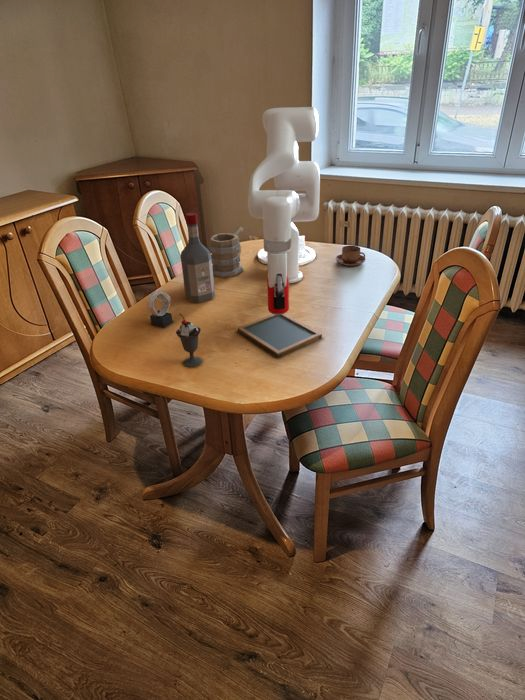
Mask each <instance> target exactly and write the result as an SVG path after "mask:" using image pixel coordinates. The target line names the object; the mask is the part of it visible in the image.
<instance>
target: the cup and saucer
mask: <svg viewBox="0 0 525 700" xmlns="http://www.w3.org/2000/svg"><path fill="white" fill-rule="evenodd" d="M335 261H336V262H337V263H338V264H340V265H342V266H346V267H347V266H348V267H356V266H359V265H362V264H364V263H365V261H366V254H365V252H362V251H361V247H360V246H357V245H344V246H342V248H341V254H339V255H337V256H335Z"/></svg>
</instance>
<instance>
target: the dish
mask: <svg viewBox="0 0 525 700" xmlns="http://www.w3.org/2000/svg"><path fill="white" fill-rule="evenodd" d="M316 254H317V253H316V251H315V249H313V248H311V247H309V246H307V245H306V235H299V267H301V266H304V265H306V264H310V263H312V262H313V261H314V260H315V258H316ZM257 258H258V261H259V262H261V263H262V264H265V265H267V252H265V251H264V247H263V248H262V249H260V250H259V251H258V253H257Z"/></svg>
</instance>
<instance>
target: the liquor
mask: <svg viewBox="0 0 525 700" xmlns="http://www.w3.org/2000/svg"><path fill="white" fill-rule="evenodd" d="M185 221H186V223H185V224H186V226H187V235H188V236H187V237H188V240H187V244H186V245H185V246H184V248H183V249H182V250H181V252H180V263H181V271H182V277H183V284H184V293H185V297H186V298H187V299H188V300H189V301H190V302H191V303H194V304H201V303H205V302H208V301H211V300H213V298H214V297H215V295H216V292H215V291H216V290H215V283H214V281H215V280H214V275H213V269H212V265H213V264H212V259H211V254H212V253H211V251H210V249H208V248H207V247H206V246H205V245H203V243H202V242H201V240H200V236H199V225H198V223H199V222H198V214H197V213H196V212H187V213H185Z"/></svg>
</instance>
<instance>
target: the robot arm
mask: <svg viewBox="0 0 525 700" xmlns="http://www.w3.org/2000/svg"><path fill="white" fill-rule="evenodd" d="M261 121H262V126H263V129H264V131H265V133H266V152H265V153H266V154H265V155H266V156H265V158H264V159H263V160H262V161H261V162H260V163H259V164H257V166H256V168H255V169H254V171H253V172H252V173H251V176H250V179H249V183H248V193H247V210H248V213H249V215H250V216H251V217H252V218H254V219H262V232H263V233H262V234H263V248H264V251H265V252H267V264H266V265H267V279H268V283H269V287H270V288H272V287H274V296H273V300H274V309H284V308H285V295H284V287H285V286H286V282H287V276H288V278H289V284H294V283H298V282H300V281H301V280H302V279H303V278H304V277H303V276H304V275H303V272H302V271H300V266H299V236H300V231H299V229H298V228H297V227H296V225H295V224H294V222H314V221H316V220H317V219H318V217H319V215H320V197H321V196H320V193H321V172H320V167H319V165H318V163H317V162H315V161H312V160H299V145H298V143H308V142H310V143H311V142H314V141H315V140H316V139H317V136H318V133H319V114H318V110H317V109H316V108H315V107H314V106H299V107H298V106H297V107H291V106H290V107H273V108H269V109H266V110H265V111H264V112H263V113H262V119H261ZM270 179H273V184H274V187H275V189H265V190H264V189H263V190H261V189H260V188H261V187H262V186H263V184H265V183H266V182H268V181H269V180H270ZM300 191H301V192H302V191H303V192H305V193H297V192H300ZM276 275H277V276H276ZM275 284H277V286H275ZM276 288H277V291H276Z"/></svg>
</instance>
